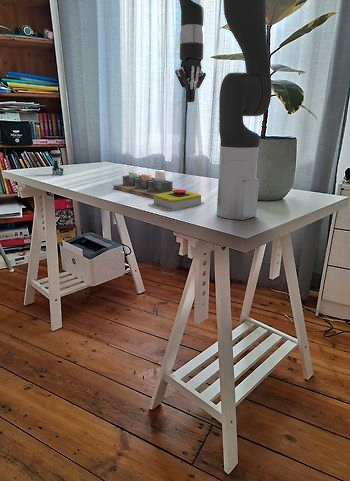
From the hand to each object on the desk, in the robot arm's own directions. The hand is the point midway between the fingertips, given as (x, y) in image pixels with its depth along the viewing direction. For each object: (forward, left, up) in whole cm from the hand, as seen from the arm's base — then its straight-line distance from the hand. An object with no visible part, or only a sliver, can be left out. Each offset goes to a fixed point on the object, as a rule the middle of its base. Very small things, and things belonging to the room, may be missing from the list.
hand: (190, 102), depth 114 cm
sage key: (+12, +16, -27) cm, 33 cm away
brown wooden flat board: (+4, +16, -29) cm, 33 cm away
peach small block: (+5, +16, -27) cm, 32 cm away
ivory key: (-3, +16, -25) cm, 30 cm away
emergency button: (-16, +22, -29) cm, 40 cm away
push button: (+56, +22, -29) cm, 67 cm away
